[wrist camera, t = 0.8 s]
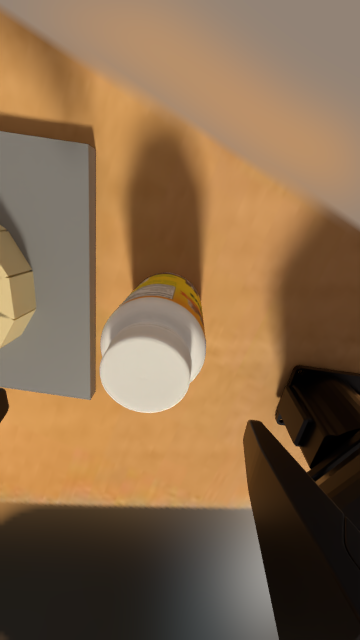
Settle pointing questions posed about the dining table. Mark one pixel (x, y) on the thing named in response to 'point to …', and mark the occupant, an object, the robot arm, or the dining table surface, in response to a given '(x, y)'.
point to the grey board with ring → (47, 265)
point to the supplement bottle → (153, 344)
